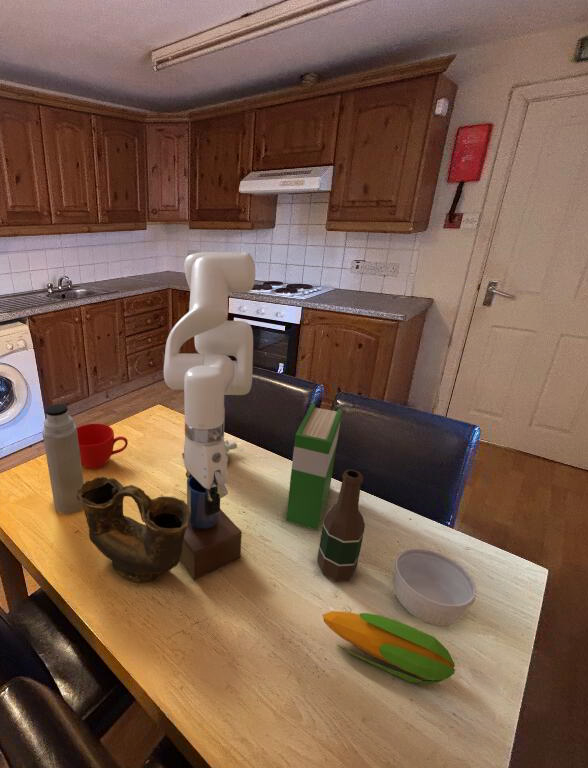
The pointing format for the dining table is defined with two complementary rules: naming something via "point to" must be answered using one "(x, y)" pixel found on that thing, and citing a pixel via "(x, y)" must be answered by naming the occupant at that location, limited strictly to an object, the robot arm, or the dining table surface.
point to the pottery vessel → (134, 528)
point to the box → (211, 557)
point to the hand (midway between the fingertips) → (203, 502)
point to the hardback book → (312, 466)
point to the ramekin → (432, 586)
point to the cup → (199, 505)
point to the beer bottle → (342, 531)
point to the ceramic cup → (97, 444)
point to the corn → (394, 645)
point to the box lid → (210, 534)
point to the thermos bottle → (63, 458)
